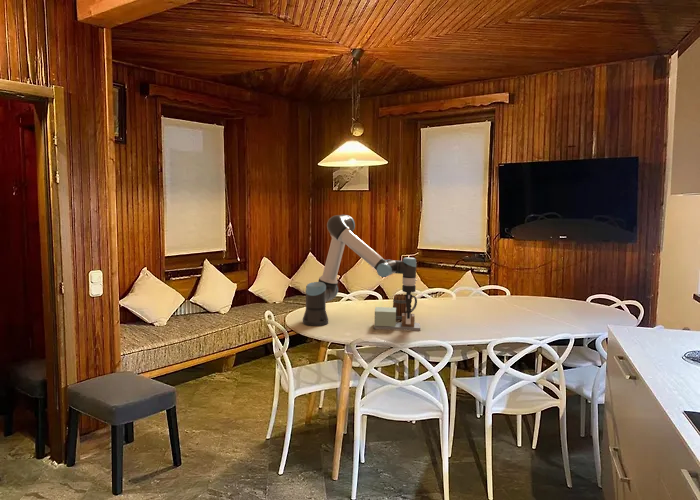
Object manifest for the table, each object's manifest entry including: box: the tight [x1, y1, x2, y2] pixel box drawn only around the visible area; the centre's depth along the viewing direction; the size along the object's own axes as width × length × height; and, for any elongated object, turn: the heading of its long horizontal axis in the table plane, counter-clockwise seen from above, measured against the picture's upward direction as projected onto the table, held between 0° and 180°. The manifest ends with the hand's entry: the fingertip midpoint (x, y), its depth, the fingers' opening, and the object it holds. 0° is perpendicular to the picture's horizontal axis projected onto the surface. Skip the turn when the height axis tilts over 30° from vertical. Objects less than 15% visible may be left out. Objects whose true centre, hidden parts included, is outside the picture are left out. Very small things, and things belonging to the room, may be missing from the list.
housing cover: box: [373, 306, 397, 327], centre depth 317 cm, size 12×12×8 cm
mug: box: [392, 293, 418, 322], centre depth 336 cm, size 16×11×15 cm
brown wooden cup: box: [401, 313, 415, 327], centre depth 316 cm, size 7×7×6 cm
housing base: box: [373, 321, 421, 332], centre depth 316 cm, size 26×12×6 cm, turn 85°
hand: (407, 321), depth 316 cm, fingers open, 13 cm apart
